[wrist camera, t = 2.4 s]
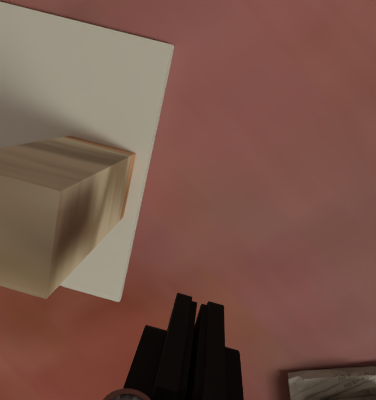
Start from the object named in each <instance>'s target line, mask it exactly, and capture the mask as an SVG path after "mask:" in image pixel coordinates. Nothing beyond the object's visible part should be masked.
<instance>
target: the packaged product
mask: <svg viewBox="0 0 376 400" xmlns="http://www.w3.org/2000/svg"><path fill="white" fill-rule="evenodd" d="M288 382H289V390H290V400H376V366H367V367H349V368H335V369H322V370H304V371H297V372H291V373H288Z"/></svg>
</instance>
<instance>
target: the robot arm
mask: <svg viewBox="0 0 376 400" xmlns="http://www.w3.org/2000/svg"><path fill="white" fill-rule="evenodd" d="M196 308H197V302H193V301H192V297H191V296H187V295H184V294H180V293H177V296H176V299H175V303H174V307H173V310H172V314H171V318H170V321H169V325H168V329H167V331H166V330H162V329H159V328H155V327H152V326H148V325H146V326H145V328H144V331H143V334H142V337H141V339H140V342H139V345H138V348H137V351H136V354H135V356H134V359H133V362H132V365H131V368H130V371H129V374H128V376H127V379H126V382H125V385H124V388H123V389H119V390H115V391H113V392H111V393H110V394H108V395H107V396H106V397H105V398H104V399H103V400H244V398H243V386H242V375H241V363H240V354H239V351H238V350H235V349H231V348H227V347H225V332H224V306H223V305H220V304H217V303H213V302H209V301H208V303H207V305H204V304H201V306H200V310H199V313H198V316H197V320H196V323H195V316H196ZM194 325H195V326H194Z"/></svg>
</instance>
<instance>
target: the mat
mask: <svg viewBox="0 0 376 400" xmlns="http://www.w3.org/2000/svg"><path fill="white" fill-rule="evenodd" d="M173 51H174V46H173V45H171V44H167V43H163V42H159V41H155V40H151V39H147V38H143V37H139V36H135V35H131V34H127V33H123V32H119V31H115V30H111V29H107V28H103V27H99V26H95V25H91V24H87V23H83V22H79V21H75V20H71V19H67V18H63V17H59V16H55V15H51V14H47V13H43V12H40V11H36V10H32V9H28V8H24V7H20V6H16V5H12V4H8V3H4V2H0V148H2V147H8V146H14V145H20V144H25V143H31V142H37V141H42V140H48V139H54V138H60V137H65V136H73V137H76V138H80V139H84V140H88V141H92V142H95V143H99V144H103V145H107V146H110V147H114V148H118V149H122V150H125V151H129V152H133V153H136V156H135V161H134V166H133V172H132V177H131V182H130V187H129V192H128V197H127V202H126V207H125V212H124V217H123V218H122V219H121V220H120V221H119V222H118V223H117V224H116V225H115V227H114V228H113V229H112V230H111V231H110V232H109V233H108V234H107V235H106V236H105V237H104V238H103V239H102V240H101V241H100V242H99V244H98V245H97V246H96V247H95V248H94V249H93V250H92V251H91V252H90V253H89V254H88V255H87V256H86V257H85V258H84V259H83V261H82V262H81V263H80V264H79V265H78V266H77V267H76V268H75V269H74V270H73V271H72V272H71V273H70V274H69V275H68V277H67V278H66V279H65V280H64V281H63V282H62V283H61V284H60V286H64V287H67V288H71V289H74V290H78V291H81V292H85V293H88V294H92V295H95V296H99V297H102V298H106V299H109V300H113V301H116V302H119V301H120V300H121V297H122V292H123V287H124V283H125V278H126V273H127V269H128V264H129V259H130V254H131V250H132V245H133V240H134V235H135V231H136V226H137V221H138V216H139V212H140V207H141V202H142V197H143V193H144V188H145V183H146V179H147V174H148V169H149V164H150V160H151V155H152V150H153V145H154V141H155V136H156V131H157V126H158V122H159V117H160V112H161V107H162V103H163V98H164V93H165V89H166V84H167V79H168V74H169V70H170V65H171V60H172V55H173Z"/></svg>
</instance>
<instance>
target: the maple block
mask: <svg viewBox="0 0 376 400" xmlns="http://www.w3.org/2000/svg"><path fill="white" fill-rule="evenodd" d="M135 156H136V153H133V152H129V151H125V150H122V149H118V148H114V147H110V146H107V145H103V144H99V143H95V142H92V141H88V140H84V139H80V138H76V137H73V136H65V137H60V138H54V139H48V140H42V141H37V142H31V143H25V144H20V145H14V146H8V147H2V148H0V286H3V287H7V288H10V289H14V290H17V291H20V292H24V293H27V294H31V295H34V296H38V297H41V298H45V299H47V298H48V297H49V296H50V295H51V294H52V292H53V291H54V290H55V289H56V288H57V287H58V286H59V285H60V284H61V283H62V282H63V281H64V280H65V279H66V278H67V277H68V275H69V274H70V273H71V272H72V271H73V270H74V269H75V268H76V267H77V266H78V265H79V264H80V263H81V262H82V261H83V259H84V258H85V257H86V256H87V255H88V254H89V253H90V252H91V251H92V250H93V249H94V248H95V247H96V246H97V245H98V244H99V242H100V241H101V240H102V239H103V238H104V237H105V236H106V235H107V234H108V233H109V232H110V231H111V230H112V229H113V228H114V227H115V225H116V224H117V223H118V222H119V221H120V220H121V219H122V218H123V217H124V212H125V207H126V202H127V197H128V192H129V187H130V182H131V177H132V172H133V166H134V161H135Z"/></svg>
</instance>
